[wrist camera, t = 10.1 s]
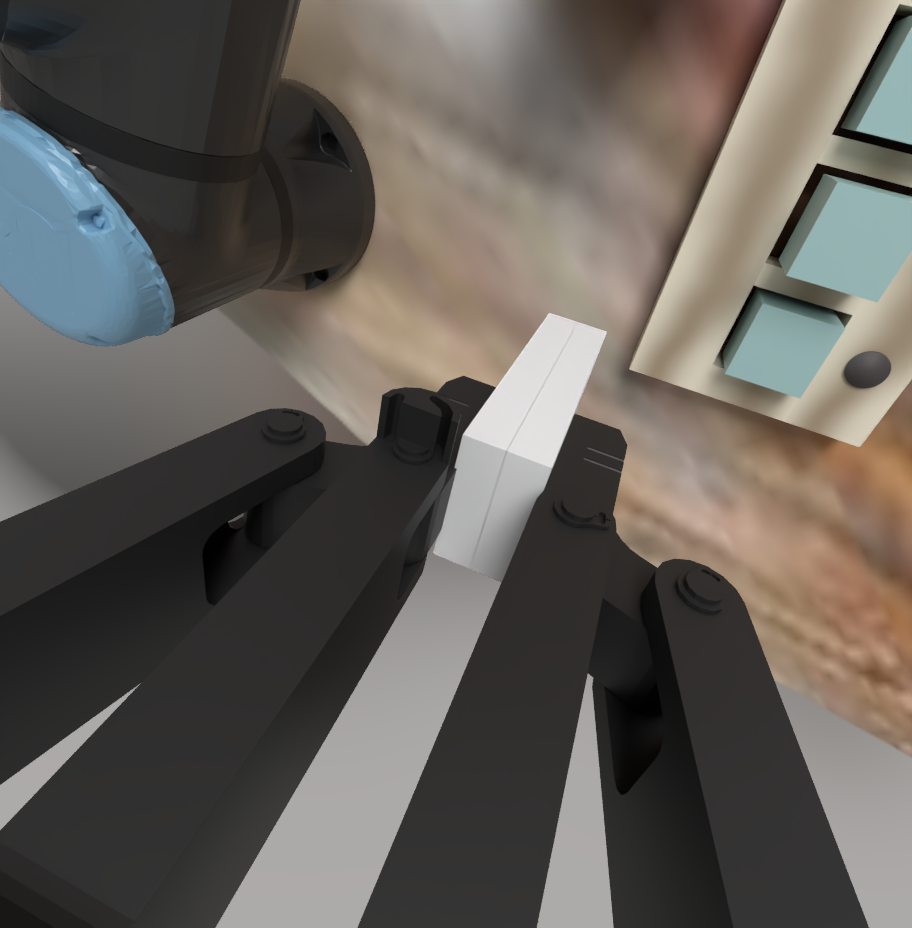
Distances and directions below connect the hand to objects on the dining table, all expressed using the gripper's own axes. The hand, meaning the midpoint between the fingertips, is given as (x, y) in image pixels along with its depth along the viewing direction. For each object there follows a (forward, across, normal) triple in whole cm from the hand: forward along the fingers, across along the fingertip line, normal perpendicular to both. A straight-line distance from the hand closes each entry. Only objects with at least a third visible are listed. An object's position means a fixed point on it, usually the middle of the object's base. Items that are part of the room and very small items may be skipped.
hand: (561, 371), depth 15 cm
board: (+29, +11, +2) cm, 31 cm away
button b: (+26, +11, +2) cm, 29 cm away
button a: (+28, +11, -5) cm, 31 cm away
